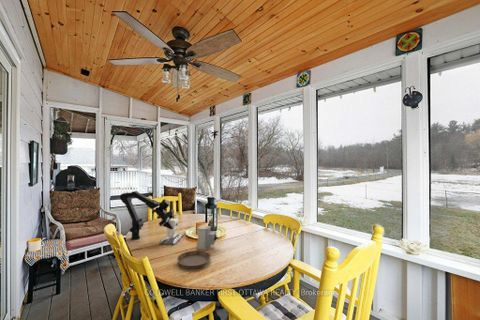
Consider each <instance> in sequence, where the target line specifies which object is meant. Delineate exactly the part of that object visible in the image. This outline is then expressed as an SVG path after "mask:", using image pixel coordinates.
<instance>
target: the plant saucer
mask: <svg viewBox="0 0 480 320" xmlns="http://www.w3.org/2000/svg"><path fill="white" fill-rule="evenodd" d="M210 260H211V255H210V253H208V252H207V251H203V250H190V251H186V252H183V253H181V254H180V255H178V256H177V260H176V261H177V263H178V264H179V265H180V266H181V267H183V268H185V269H198V268H202V267H204V266H206V265H207V264H208V263H209V261H210Z"/></svg>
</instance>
